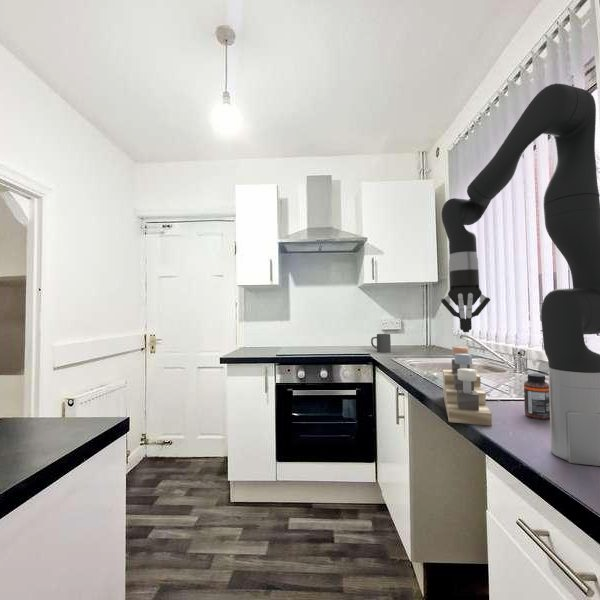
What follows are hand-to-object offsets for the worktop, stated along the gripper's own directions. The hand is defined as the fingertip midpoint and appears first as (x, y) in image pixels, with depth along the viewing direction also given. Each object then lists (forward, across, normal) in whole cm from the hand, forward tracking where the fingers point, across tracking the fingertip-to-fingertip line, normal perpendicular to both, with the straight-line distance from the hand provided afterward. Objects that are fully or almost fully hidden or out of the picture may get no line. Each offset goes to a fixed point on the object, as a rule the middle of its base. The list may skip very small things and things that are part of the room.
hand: (466, 332), depth 101 cm
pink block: (+12, -1, +16) cm, 20 cm away
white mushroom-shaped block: (+17, -1, -3) cm, 17 cm away
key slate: (+14, -1, +6) cm, 15 cm away
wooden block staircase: (+23, -1, +7) cm, 24 cm away
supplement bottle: (+23, +17, +5) cm, 29 cm away
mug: (+19, -41, +141) cm, 148 cm away
